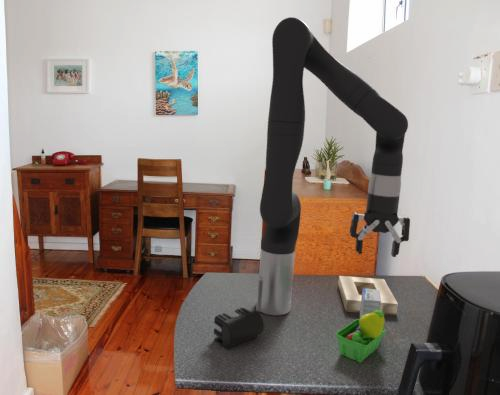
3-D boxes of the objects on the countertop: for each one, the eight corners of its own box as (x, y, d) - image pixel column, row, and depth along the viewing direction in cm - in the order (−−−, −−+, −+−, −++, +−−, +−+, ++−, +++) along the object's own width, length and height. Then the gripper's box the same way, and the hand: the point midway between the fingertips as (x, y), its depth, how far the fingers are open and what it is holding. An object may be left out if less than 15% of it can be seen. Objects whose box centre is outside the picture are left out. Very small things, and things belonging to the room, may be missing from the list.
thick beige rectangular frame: (345, 311, 127) (346, 299, 126) (338, 286, 144) (339, 275, 144) (396, 315, 126) (398, 304, 125) (382, 289, 144) (384, 279, 143)
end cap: (229, 354, 102) (231, 326, 101) (211, 340, 108) (213, 314, 106) (263, 341, 108) (265, 315, 107) (244, 329, 114) (246, 304, 112)
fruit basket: (355, 336, 113) (360, 294, 111) (389, 350, 108) (395, 306, 105) (332, 354, 105) (337, 308, 102) (368, 370, 99) (374, 322, 97)
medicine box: (377, 333, 115) (381, 301, 114) (359, 331, 116) (363, 299, 114) (375, 319, 123) (379, 289, 121) (358, 317, 124) (362, 287, 122)
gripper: (357, 193, 109) (350, 257, 112) (417, 197, 108) (408, 262, 112) (352, 187, 116) (346, 248, 120) (409, 191, 116) (401, 252, 119)
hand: (376, 254), depth 116 cm, fingers open, 8 cm apart
